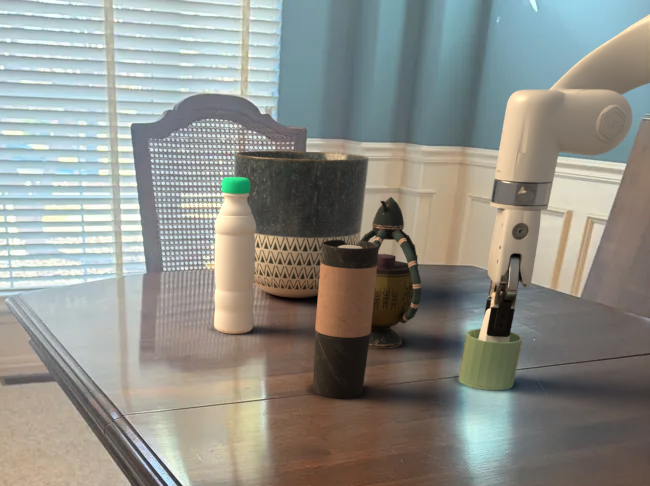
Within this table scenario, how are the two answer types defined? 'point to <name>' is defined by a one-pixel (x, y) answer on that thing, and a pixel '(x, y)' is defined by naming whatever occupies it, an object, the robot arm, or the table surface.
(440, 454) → the table surface
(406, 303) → the teapot
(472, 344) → the cup
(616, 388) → the table surface
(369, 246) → the travel mug
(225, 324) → the water bottle
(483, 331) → the salt shaker
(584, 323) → the table surface
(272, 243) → the planter
